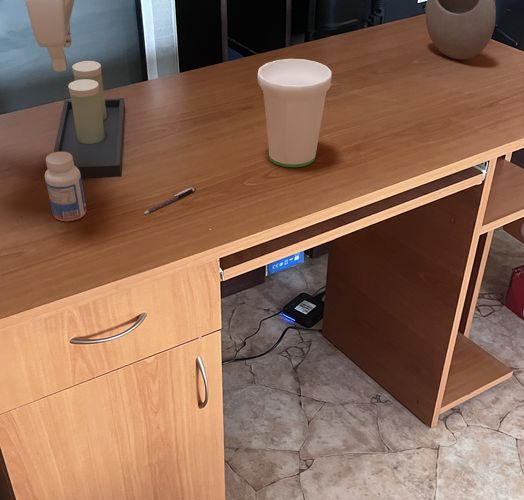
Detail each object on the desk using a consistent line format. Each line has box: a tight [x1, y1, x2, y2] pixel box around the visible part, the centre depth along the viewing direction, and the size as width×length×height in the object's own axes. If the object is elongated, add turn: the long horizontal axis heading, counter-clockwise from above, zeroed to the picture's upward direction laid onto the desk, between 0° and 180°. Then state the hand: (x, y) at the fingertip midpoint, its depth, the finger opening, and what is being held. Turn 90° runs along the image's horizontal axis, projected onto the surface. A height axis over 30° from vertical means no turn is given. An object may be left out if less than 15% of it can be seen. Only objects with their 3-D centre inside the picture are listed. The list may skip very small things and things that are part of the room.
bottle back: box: [71, 60, 107, 120], centre depth 148 cm, size 5×5×10 cm
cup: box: [257, 58, 333, 168], centre depth 136 cm, size 12×12×15 cm
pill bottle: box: [44, 152, 87, 222], centre depth 122 cm, size 6×5×10 cm
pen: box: [143, 187, 197, 215], centre depth 128 cm, size 11×1×1 cm, turn 137°
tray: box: [53, 97, 126, 179], centre depth 144 cm, size 12×29×2 cm, turn 6°
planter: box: [425, 0, 497, 61], centre depth 172 cm, size 18×7×19 cm, turn 39°
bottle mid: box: [67, 79, 105, 144], centre depth 141 cm, size 5×5×10 cm
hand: (63, 57), depth 113 cm, fingers open, 8 cm apart
